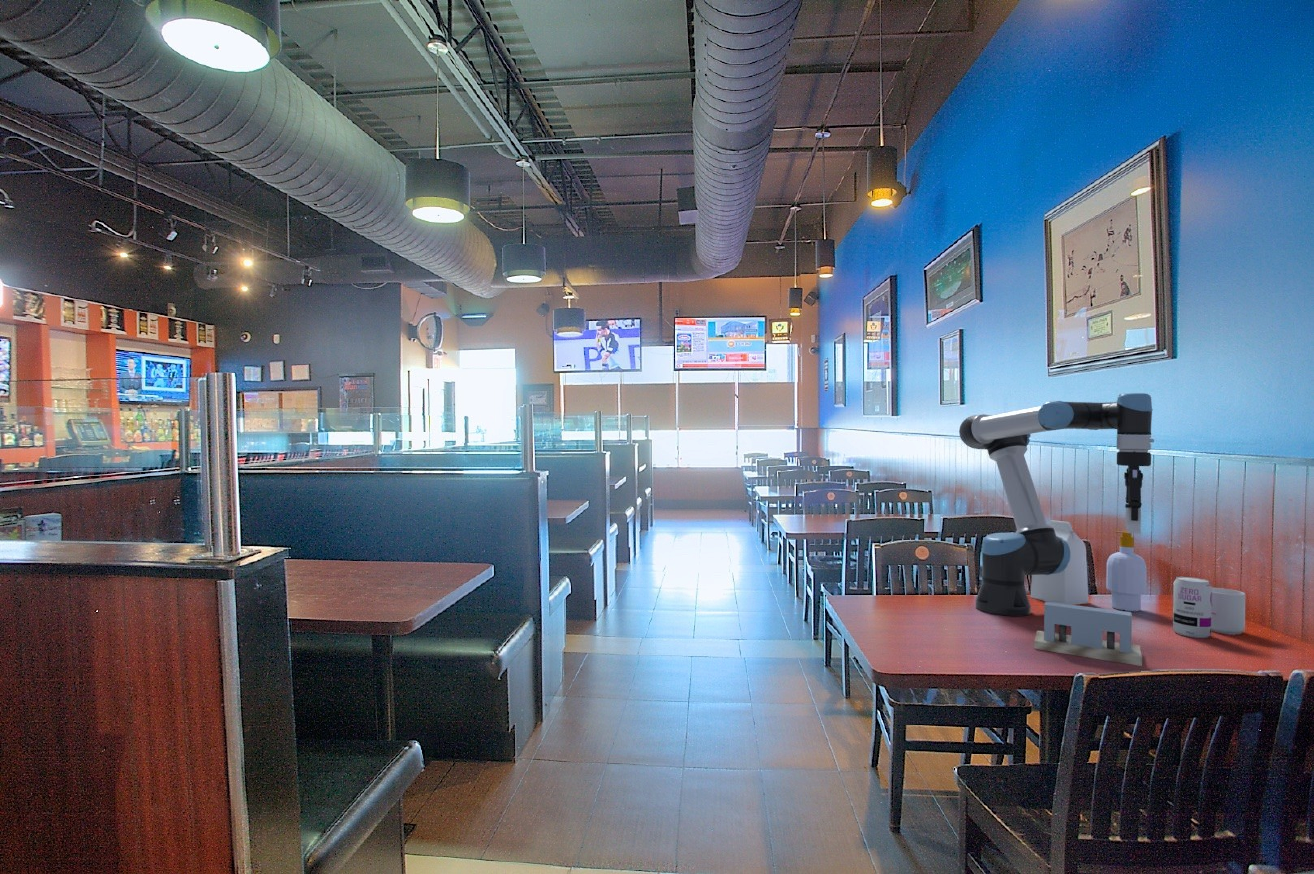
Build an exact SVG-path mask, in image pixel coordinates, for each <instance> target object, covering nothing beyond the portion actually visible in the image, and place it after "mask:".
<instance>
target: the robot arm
mask: <svg viewBox="0 0 1314 874" xmlns="http://www.w3.org/2000/svg"><path fill="white" fill-rule="evenodd" d="M1152 403H1153V402H1152V397H1151V395H1150V394H1149V393H1146V392H1145V393H1144V392H1143V393H1142V392H1140V393H1138V392H1137V393H1135V392H1133V393H1120V394H1119V395H1117V399H1116V401H1114V402H1113V401H1112V402H1111V401H1110V402H1090V401H1089V402H1086V401H1085V402H1083V401H1062V400H1053V401H1047V402H1045V403H1043V405H1039V406H1034V407H1029V408H1023V409H1018V410H1014V411H1008V412H1004V413H999V414H994V415H993V414H991V415H990V414H982V413H981V414H975V415H971V416H968V417H966V418H965V419H963V421H962V422H961V424H960V426H959V431H958V433H959V437H960V440H961V441H962V442H963V444H964V445H966V446H967V447H969V448H971V449H976V450H985V451H986V450H987V453H988V457H989V459H990V460H992V461H994V462H996V465H997V469H998V472H999V475H1000V478H1001V482H1002V485H1003V488H1004V491H1005V494H1006V498H1007V501H1008V504H1009V505H1008V506H1009V508H1010V512H1011V514H1012V518H1013V520H1014V524H1015V528H1016V530H1015V532H995V533H990V534H988V535H986V536H985V537H984V538H983V540H982V548H981V552H982V553H981V554H982V556H981V557H982V561H981V563H982V565H981V566H982V567H981V570H982V571H981V585H980V587H979V590H978V593H977V595H976V598H975V608H976V609H978V610H980V611H982V612H986V613H989V614H994V615H995V614H996V615H1001V616H1009V617H1024V616H1028V615H1030V614H1031V613H1032V612H1031V609H1032V608H1031V607H1032V606H1031V603H1030V600H1029V597H1028V594H1027V590H1026V587H1025V578H1026V577H1025V576H1032V575H1050V574H1057V573H1060V572H1062V571H1063V570H1065V568H1066V567H1067V566H1068V563H1069V561H1070V548H1069V545H1068V544H1067V542H1066V541H1065V540H1063V538H1061V537H1058V536H1056V534H1055V531H1054V528H1053V527H1051V526H1049V524H1047V521H1046V518H1045V515H1044V512H1043V509H1042V506H1041V503H1040V500H1039V497H1038V493H1037V490H1036V488H1035V487H1036V486H1035V485H1034V482H1033V479H1032V475H1031V473H1030V469H1029V467H1028V463H1027V460H1026V457H1025V454H1026V453H1027V451H1028V445H1029V444H1030V441H1031V439H1030V438H1031V437H1032V436H1031V434H1037V433H1043V432H1044V433H1045V432H1050V431H1059V430H1068V429H1069V430H1070V429H1072V430H1073V429H1076V430H1091V431H1092V430H1093V431H1097V430H1116V450H1117V452H1116V464H1117V466H1120V467H1121V466H1122V467H1123V466H1124V467H1127V468H1126V470H1125V471H1126V472H1124V475H1123V477H1124V484H1125V485H1124V486H1125V487H1126V489H1125V490H1126V491H1125V506H1124V507H1125V528H1127V532H1128V533H1132V534H1138V535H1141V533H1142V532H1141V525H1142V523H1141V521H1142V518H1141V517H1142V505H1143V504H1142V487H1143V480H1144V473H1143V472H1142V471H1141V469H1140V467H1150V466H1151V465H1152V453H1151V452H1149V451H1151V450H1152V444H1151V443H1154V442H1155V439H1154V438H1152V417H1153V416H1152V415H1153V405H1152Z"/></svg>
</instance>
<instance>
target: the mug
mask: <svg viewBox="0 0 1314 874" xmlns="http://www.w3.org/2000/svg"><path fill="white" fill-rule="evenodd" d="M1245 630H1246V593H1245V592H1243V591H1240V590H1235V589H1231V588H1230V589H1229V588H1222V587H1212V598H1211V632H1214V633H1219V634H1223V635H1232V636H1234V635H1236V634H1238V635H1241V634H1243V633H1244V631H1245ZM1240 633H1241V634H1240ZM1236 636H1237V635H1236Z"/></svg>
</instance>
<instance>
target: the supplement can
mask: <svg viewBox="0 0 1314 874" xmlns="http://www.w3.org/2000/svg"><path fill="white" fill-rule="evenodd" d="M1172 583H1173V584H1172V585H1173V586H1172V588H1173V589H1172V591H1173V592H1172V593H1173V597H1172V603H1173V604H1172V630H1173V631H1175V633H1176V634H1178V635H1181V636H1184V637H1188V638H1197V639H1207V638H1209V637H1210V636H1212V631H1211V598H1212V588H1213V587H1212V585H1211V584H1210V581H1209V580H1207V579H1204V578H1200V577H1199V578H1198V577H1192V576H1176V578H1175V580H1174V581H1173V582H1172Z"/></svg>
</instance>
